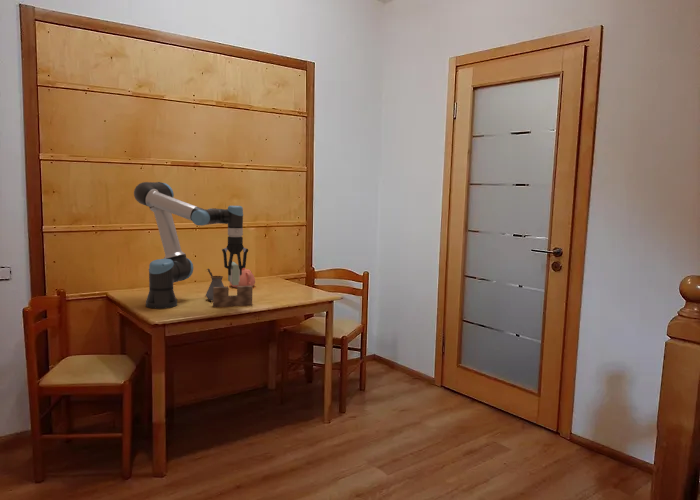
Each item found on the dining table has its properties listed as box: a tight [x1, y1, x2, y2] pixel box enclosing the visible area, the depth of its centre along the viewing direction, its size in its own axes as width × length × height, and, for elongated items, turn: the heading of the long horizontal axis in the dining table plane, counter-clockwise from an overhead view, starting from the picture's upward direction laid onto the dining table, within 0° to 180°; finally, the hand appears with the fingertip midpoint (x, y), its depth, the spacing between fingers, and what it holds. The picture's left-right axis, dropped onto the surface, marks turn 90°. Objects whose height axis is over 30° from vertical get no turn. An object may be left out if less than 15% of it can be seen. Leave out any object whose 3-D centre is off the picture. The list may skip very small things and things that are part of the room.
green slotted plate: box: [227, 261, 239, 285], centre depth 276 cm, size 3×14×10 cm, turn 22°
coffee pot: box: [205, 268, 225, 302], centre depth 293 cm, size 21×12×15 cm, turn 33°
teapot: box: [229, 267, 256, 289], centre depth 328 cm, size 22×16×12 cm
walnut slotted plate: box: [212, 286, 253, 308], centre depth 278 cm, size 20×3×10 cm, turn 112°
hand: (234, 281), depth 272 cm, fingers closed on green slotted plate, 3 cm apart
